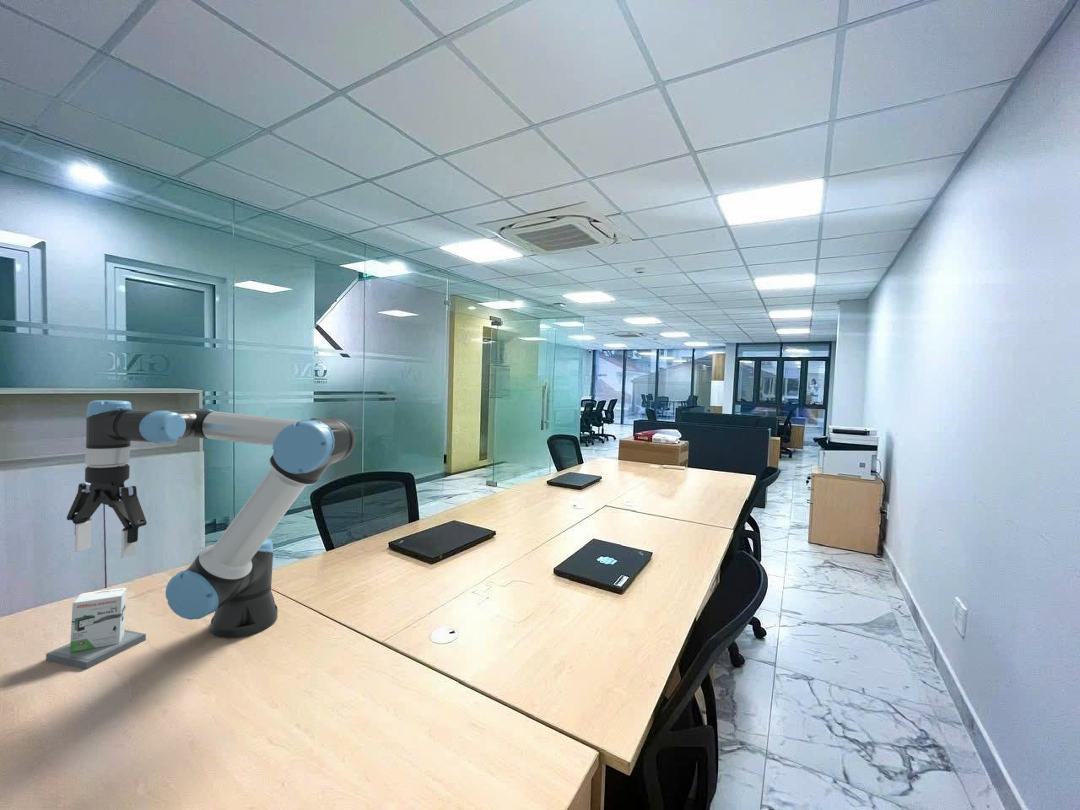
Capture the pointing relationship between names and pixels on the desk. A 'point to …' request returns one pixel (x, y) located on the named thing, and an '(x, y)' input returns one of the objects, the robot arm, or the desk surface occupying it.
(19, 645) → the desk surface
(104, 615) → the ink box
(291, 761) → the desk surface
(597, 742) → the desk surface
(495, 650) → the desk surface
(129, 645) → the slate pad
